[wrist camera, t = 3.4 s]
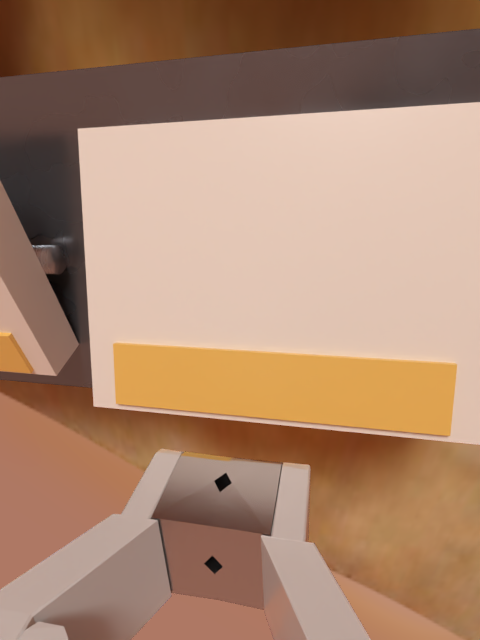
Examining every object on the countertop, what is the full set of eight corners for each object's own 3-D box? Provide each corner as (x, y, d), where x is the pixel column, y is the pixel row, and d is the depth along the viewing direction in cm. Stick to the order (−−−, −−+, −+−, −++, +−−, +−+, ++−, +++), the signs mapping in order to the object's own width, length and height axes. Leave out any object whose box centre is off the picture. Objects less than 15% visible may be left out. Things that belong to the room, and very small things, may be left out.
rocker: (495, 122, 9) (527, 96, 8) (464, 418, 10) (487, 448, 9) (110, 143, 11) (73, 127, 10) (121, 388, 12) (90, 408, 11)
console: (487, 60, 14) (606, 7, 7) (440, 342, 18) (491, 453, 12) (-95, 110, 19) (-303, 103, 13) (-23, 318, 23) (-153, 387, 17)
